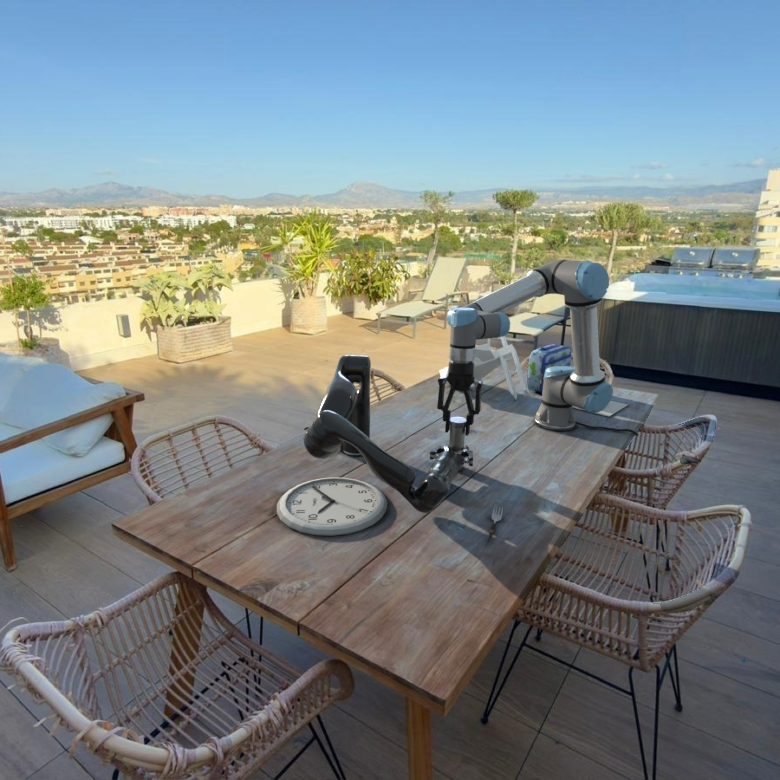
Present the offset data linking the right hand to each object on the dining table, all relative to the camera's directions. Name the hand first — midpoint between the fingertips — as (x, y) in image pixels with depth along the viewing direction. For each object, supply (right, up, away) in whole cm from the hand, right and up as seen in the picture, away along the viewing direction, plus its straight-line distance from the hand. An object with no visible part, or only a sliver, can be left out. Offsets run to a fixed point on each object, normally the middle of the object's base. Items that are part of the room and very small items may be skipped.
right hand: (457, 432), depth 163 cm
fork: (+5, -22, -30) cm, 37 cm away
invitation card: (+70, +6, +63) cm, 95 cm away
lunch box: (+54, +14, +87) cm, 104 cm away
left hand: (+1, -5, +4) cm, 7 cm away
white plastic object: (+21, +12, +80) cm, 84 cm away
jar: (0, -12, +4) cm, 12 cm away
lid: (0, +4, -1) cm, 4 cm away
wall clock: (-37, -18, -20) cm, 46 cm away
